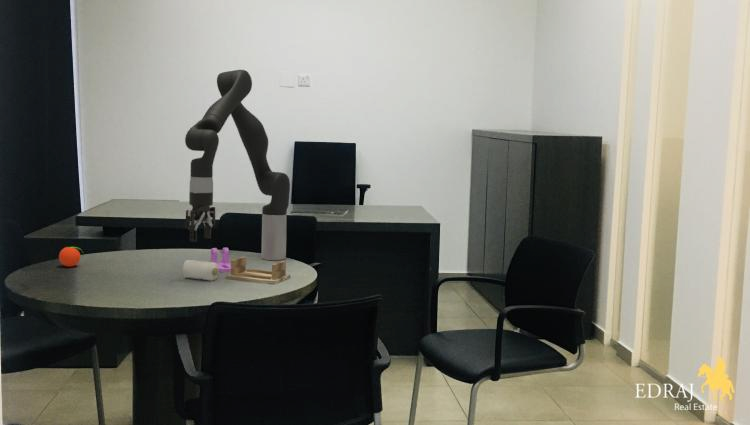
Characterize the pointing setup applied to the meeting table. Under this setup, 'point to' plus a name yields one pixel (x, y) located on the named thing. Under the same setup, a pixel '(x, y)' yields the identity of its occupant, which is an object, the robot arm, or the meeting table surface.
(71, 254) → the clementine
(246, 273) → the cradle
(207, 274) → the roll
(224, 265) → the bracket
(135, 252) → the meeting table surface
